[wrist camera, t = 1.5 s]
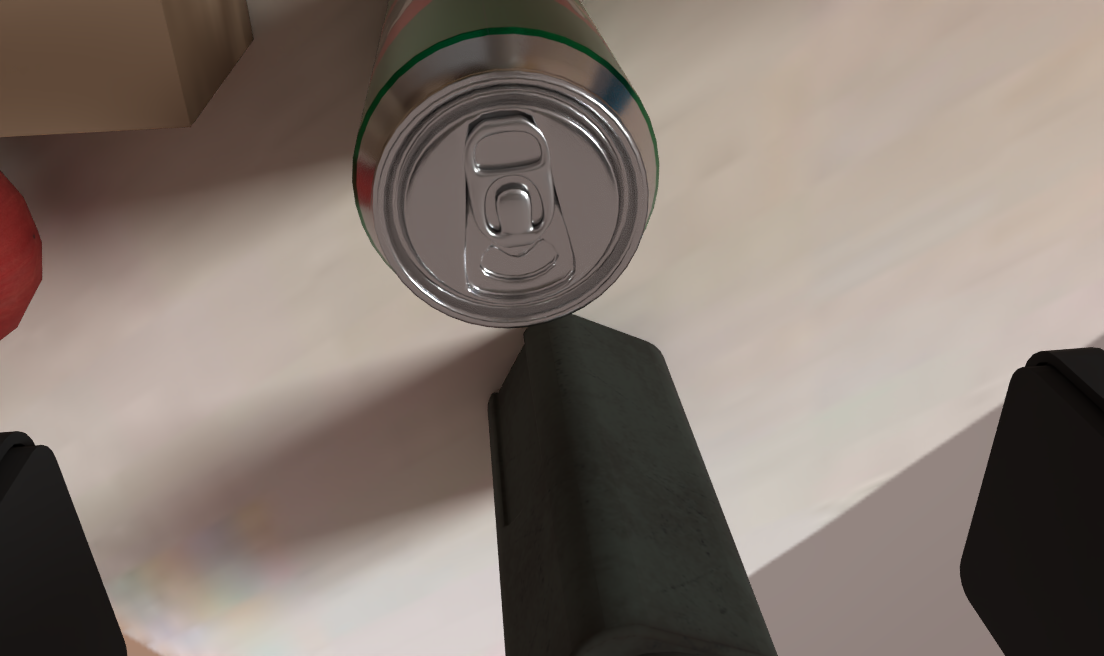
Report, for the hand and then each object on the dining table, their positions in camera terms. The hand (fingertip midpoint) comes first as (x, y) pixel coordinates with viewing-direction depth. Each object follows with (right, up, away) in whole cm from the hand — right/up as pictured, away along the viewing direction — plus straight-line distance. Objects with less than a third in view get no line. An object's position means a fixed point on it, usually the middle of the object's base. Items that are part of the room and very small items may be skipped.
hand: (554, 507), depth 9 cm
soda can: (-2, +10, +15) cm, 18 cm away
